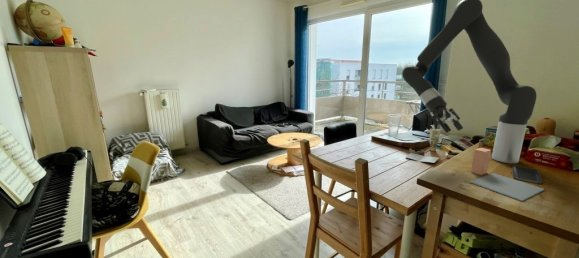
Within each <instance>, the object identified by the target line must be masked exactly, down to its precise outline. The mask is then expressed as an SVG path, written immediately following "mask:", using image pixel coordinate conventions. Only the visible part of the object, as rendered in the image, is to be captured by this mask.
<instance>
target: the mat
mask: <svg viewBox="0 0 579 258" xmlns="http://www.w3.org/2000/svg"><path fill="white" fill-rule="evenodd" d="M469 183H470V184H472V185H476V186H479V187H480V188H484V189H487V190H489V191H492V192H495V193H498V194H501V195H503V196H505V197H508V198H510V199H514V200H517V201H519V202H524V201H526V200H528V199H530V198H533V197H534V196H536V195H538V194H540V193H541V192H543V191H545V190H546V189H545V188H543V187H539V186H536V185H533V184H530V183H528V182H527V183H526V182H525V181H521V180H516V179H514V178H510V177H507V176H504V175H500V174H497V173H495V172H492V173H490V174H487V175H484V176H482V177H479V178H477V179H473V180H470V181H469Z"/></svg>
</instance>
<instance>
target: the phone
mask: <svg viewBox="0 0 579 258" xmlns="http://www.w3.org/2000/svg"><path fill="white" fill-rule="evenodd" d="M511 168H512V170H511V171H512V179H514V180H517V181H520V182H525V183H526V182H527V183H529V184H530V183H531V184H536V185H542V184H543V180H542V176H541V174H540V171H539V170H538V169H536V168H530V167H524V166H518V165H512V167H511Z"/></svg>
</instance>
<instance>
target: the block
mask: <svg viewBox="0 0 579 258" xmlns="http://www.w3.org/2000/svg"><path fill="white" fill-rule="evenodd" d="M491 153H492V149H488V148H485V147H479V148H476V149H474V152H473V158H472V165H471V169H470V170H471V171H470V172H471V173H472V174H476V175H479V176H482V175H485V174H487V173H488V169H489V164H490V160H491V155H492V154H491Z"/></svg>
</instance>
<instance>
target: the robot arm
mask: <svg viewBox="0 0 579 258" xmlns="http://www.w3.org/2000/svg"><path fill="white" fill-rule="evenodd" d="M483 7H484V6H483V3H482V1H481V0H461V1H459V2H458V3H457V4H456V5H455V7H454V10H453V14H452V16H451V17H450V19H449V20H448V21H447V23H446V24H445V26H444V27H443V28H442V29H441V31H439V33H438V34H437V35H436V36H434V38H433V39H431V41H430V42H428V44H426V46H425V48H423V49H422V51H420V53H419V55H418V56H417V63H416V64H415V66H414V65H408V66H406V67H404V68H403V70H402V72H401V75H402V78H403V80H404V81H405V82H406V84H408V86H410V87H411V88H412V89H413V90H414V92H416V94H417V95H418V97H419V99H420V101H421V103H423V105H424V106H425V108H426V109H427V111H428V112H429V113H428V116H429V117H430V118H431V120H432V122H433V123H434V125H436V126H440V127H441V128H442V129H443V131H444V132H445V133H446V134H447V133H450V132H452V129H451V128H450V126H449V124H447V122H446V121H448V122H450V123H451V124H452V125H453V126H454V128H455V129H456V130H457V131H461V130H463V129H464V127H463V125H462V124H461V123H460V120H461V117H460V116H459V115H458V114H457V112H456V111H455V110H454V109H453V108H450V109H448V108H447V104H448V103H447V102H446V100H445V99H444V97H442V95H441V94H440V92H438V90H437V89H435V87H434V86H433V85H432V83H431V82H430V81H429V80H428V79H426V78H424V77H425V75H426V74H427V73H428V71H429V69H430V68H431V66H432V64H433V63H435V61H436V60H437V59H438V58H439V56H441V54H442V53H444V51H445V50H446V48H448V46H449V45H450V44H451V42H452V41H453V40H455V38H456V37H457V36H458V35H459V34H460V33H461V32H462V31H463V30H464V31H465V32H466V34H467V35H468V36H467V37H468V38H469V40H470V43H471V46H472V48H473V50H474V53H475V54H476V57H477V58H478V60H479V62H480V64H481V65H482V66H483V68H484V70H485V71H486V73H487V75H488V76H489V79H491V81H492V84H493V86H494V88H495V91H496V93H497V96H498V98H499V99H500V102H502V103H503V104H504V105H506V106H507V108H506V111H505V113H503V114H501V115H499V118H498V124H497V129H496V134H495V139H494V144H493V149H492V152H491V153H492V154H491V159H492V160H494V161H497V162H501V163H505V164H518V163H519V161H520V156H521V152H522V148H523V143H524V139H525V134H526V129H527V126H528V125H527V124H528V121H529V120H530V119H531V117H532V115H533V112H534V109H535V105H536V102H537V91H536V89H535V88H534V87H532V86H529V85H525V84H524V85H523V84H519V83H518V82H517V80H516V79H515V77H514V76H513V73H512V70H511V56H510V53H509V50H507V48H506V46H505V44H504V43H503V41H502V39H501V38H500V36H498V35H497V32H495V30H494V29H493V28H491V26H490V25H489V24H488V22H487V20H486V18H485V15H484V13H483V9H484V8H483Z"/></svg>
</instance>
